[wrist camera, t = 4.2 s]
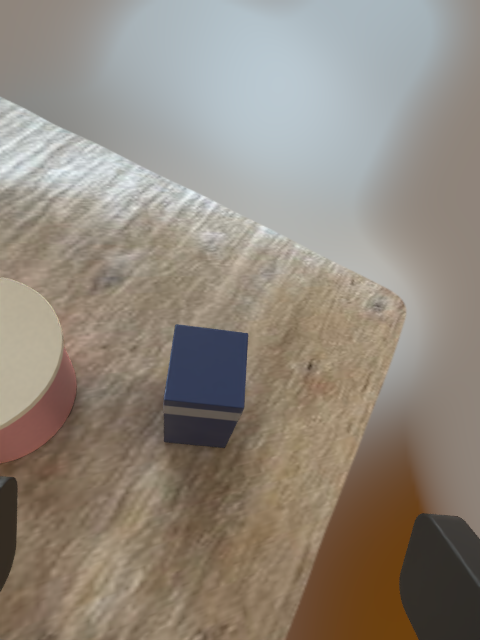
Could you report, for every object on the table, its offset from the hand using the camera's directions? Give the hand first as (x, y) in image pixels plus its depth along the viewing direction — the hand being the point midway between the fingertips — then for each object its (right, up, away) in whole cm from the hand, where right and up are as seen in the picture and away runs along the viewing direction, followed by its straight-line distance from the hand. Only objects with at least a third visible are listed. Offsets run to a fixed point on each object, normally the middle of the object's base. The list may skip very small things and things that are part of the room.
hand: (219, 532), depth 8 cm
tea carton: (-3, -4, +28) cm, 28 cm away
